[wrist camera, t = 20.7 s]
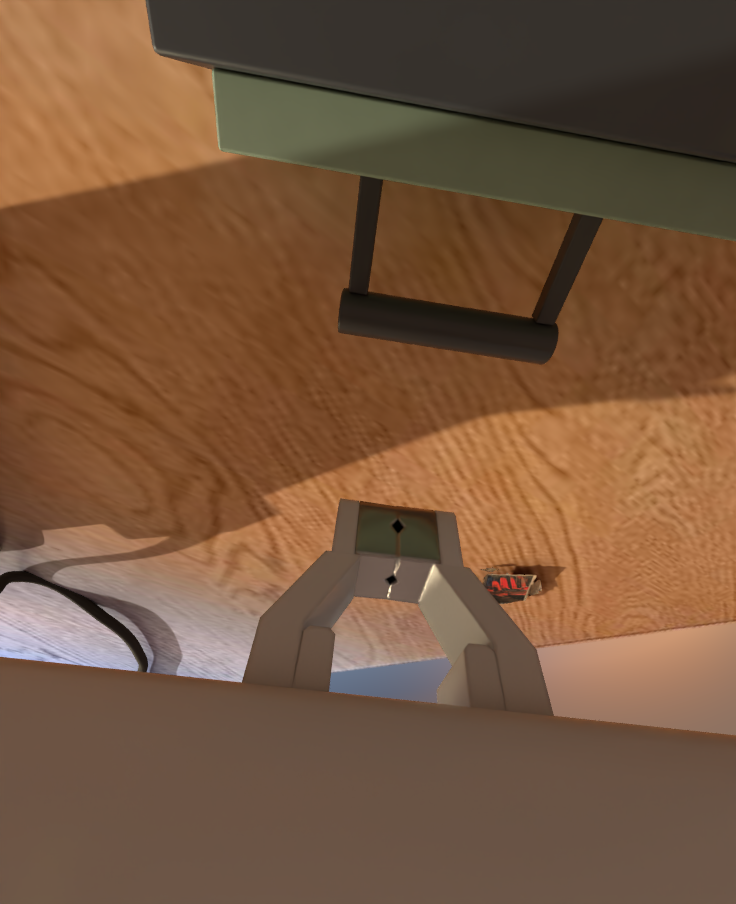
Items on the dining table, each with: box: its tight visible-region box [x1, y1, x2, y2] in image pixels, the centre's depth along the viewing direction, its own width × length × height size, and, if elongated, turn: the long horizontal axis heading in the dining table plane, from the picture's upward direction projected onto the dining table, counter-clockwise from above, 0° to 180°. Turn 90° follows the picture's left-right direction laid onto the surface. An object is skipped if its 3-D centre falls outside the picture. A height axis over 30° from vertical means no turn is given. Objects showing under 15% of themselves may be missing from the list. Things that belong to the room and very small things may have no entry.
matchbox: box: [481, 567, 542, 604], centre depth 31 cm, size 5×5×1 cm
